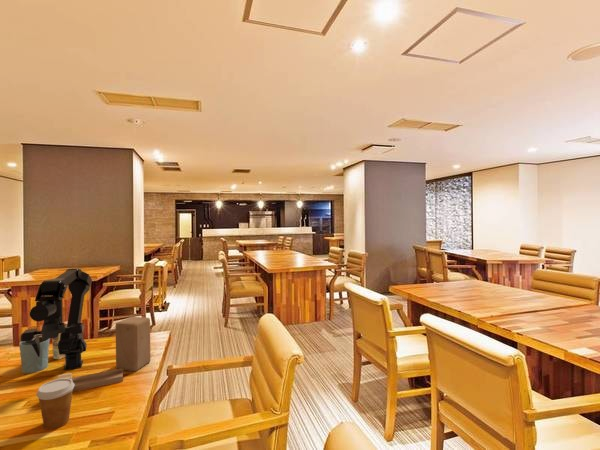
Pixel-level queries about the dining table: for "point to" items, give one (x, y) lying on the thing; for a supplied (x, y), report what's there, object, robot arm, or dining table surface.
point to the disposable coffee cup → (55, 402)
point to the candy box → (55, 346)
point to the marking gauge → (65, 376)
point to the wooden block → (133, 343)
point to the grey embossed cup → (34, 356)
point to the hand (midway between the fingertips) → (54, 353)
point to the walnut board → (97, 379)
